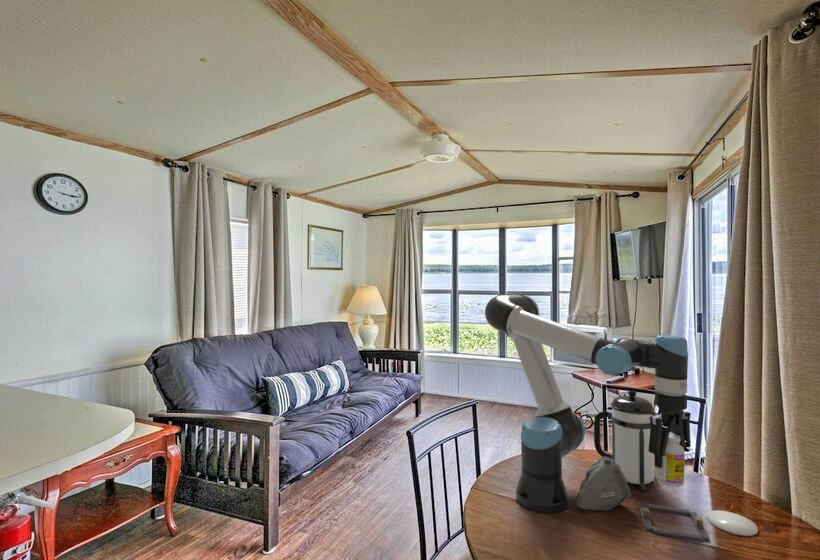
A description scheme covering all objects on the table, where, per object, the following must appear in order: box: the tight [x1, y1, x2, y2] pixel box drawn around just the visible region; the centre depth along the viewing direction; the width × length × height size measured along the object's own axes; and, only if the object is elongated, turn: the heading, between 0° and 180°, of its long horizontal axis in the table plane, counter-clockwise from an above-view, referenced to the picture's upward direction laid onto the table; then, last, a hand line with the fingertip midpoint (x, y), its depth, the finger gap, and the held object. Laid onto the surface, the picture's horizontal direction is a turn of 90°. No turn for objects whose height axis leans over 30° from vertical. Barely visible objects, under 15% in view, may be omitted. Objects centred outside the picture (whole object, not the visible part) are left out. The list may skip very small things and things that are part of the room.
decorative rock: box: [576, 456, 632, 512], centre depth 122 cm, size 16×7×15 cm, turn 93°
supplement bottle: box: [655, 432, 685, 488], centre depth 115 cm, size 7×7×13 cm
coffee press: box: [593, 389, 658, 493], centre depth 139 cm, size 17×16×30 cm
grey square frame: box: [638, 502, 711, 543], centre depth 115 cm, size 14×14×2 cm
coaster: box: [706, 509, 759, 537], centre depth 114 cm, size 11×11×1 cm
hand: (669, 475), depth 115 cm, fingers closed on supplement bottle, 7 cm apart
